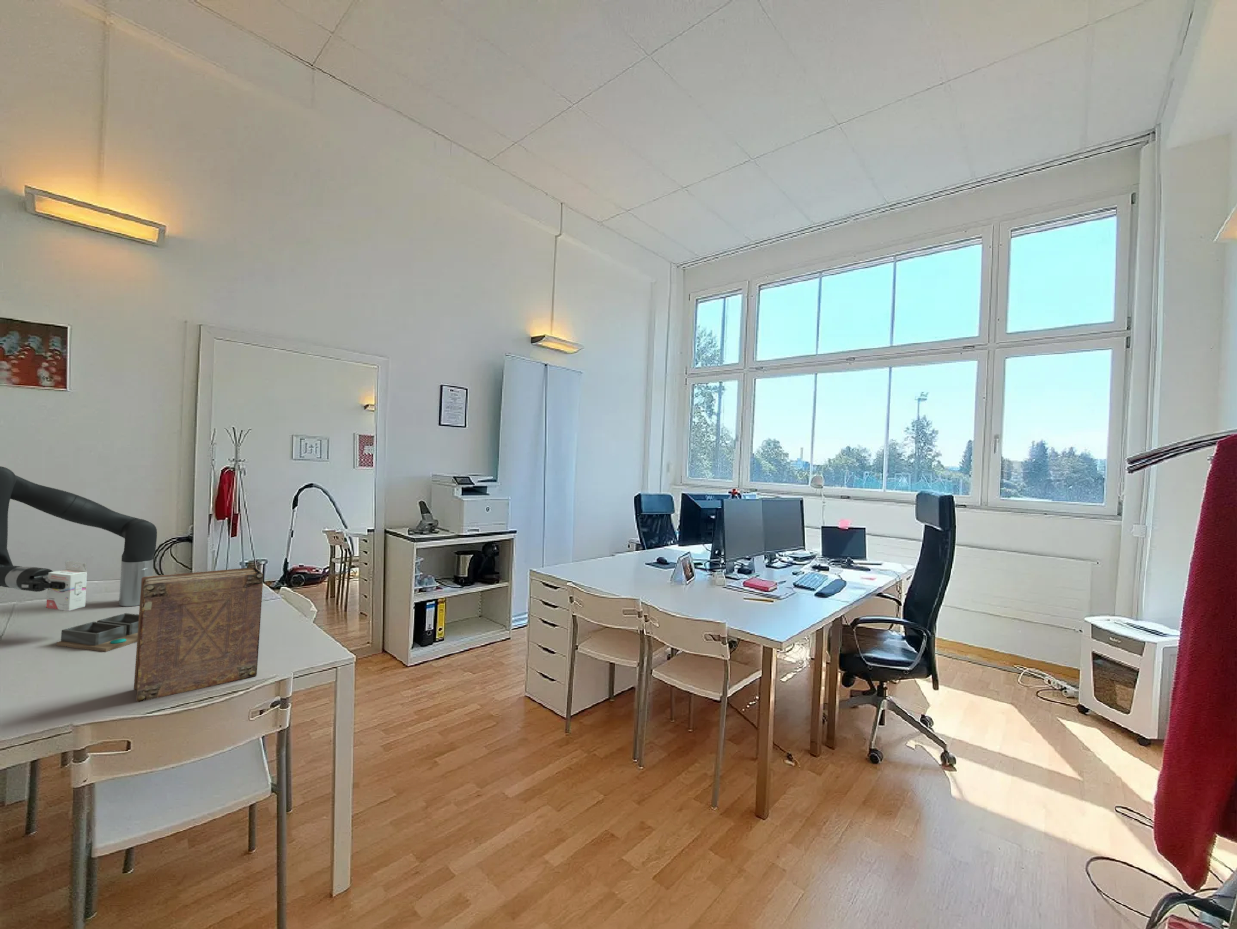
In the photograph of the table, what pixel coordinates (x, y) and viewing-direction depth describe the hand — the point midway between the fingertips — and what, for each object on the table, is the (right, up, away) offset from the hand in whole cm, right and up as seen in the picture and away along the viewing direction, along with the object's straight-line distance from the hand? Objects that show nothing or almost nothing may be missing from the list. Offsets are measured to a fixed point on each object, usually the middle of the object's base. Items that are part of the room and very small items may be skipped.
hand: (74, 583), depth 161 cm
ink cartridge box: (-3, -8, 0) cm, 9 cm away
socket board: (+12, -18, +3) cm, 22 cm away
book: (+61, -22, -24) cm, 69 cm away
